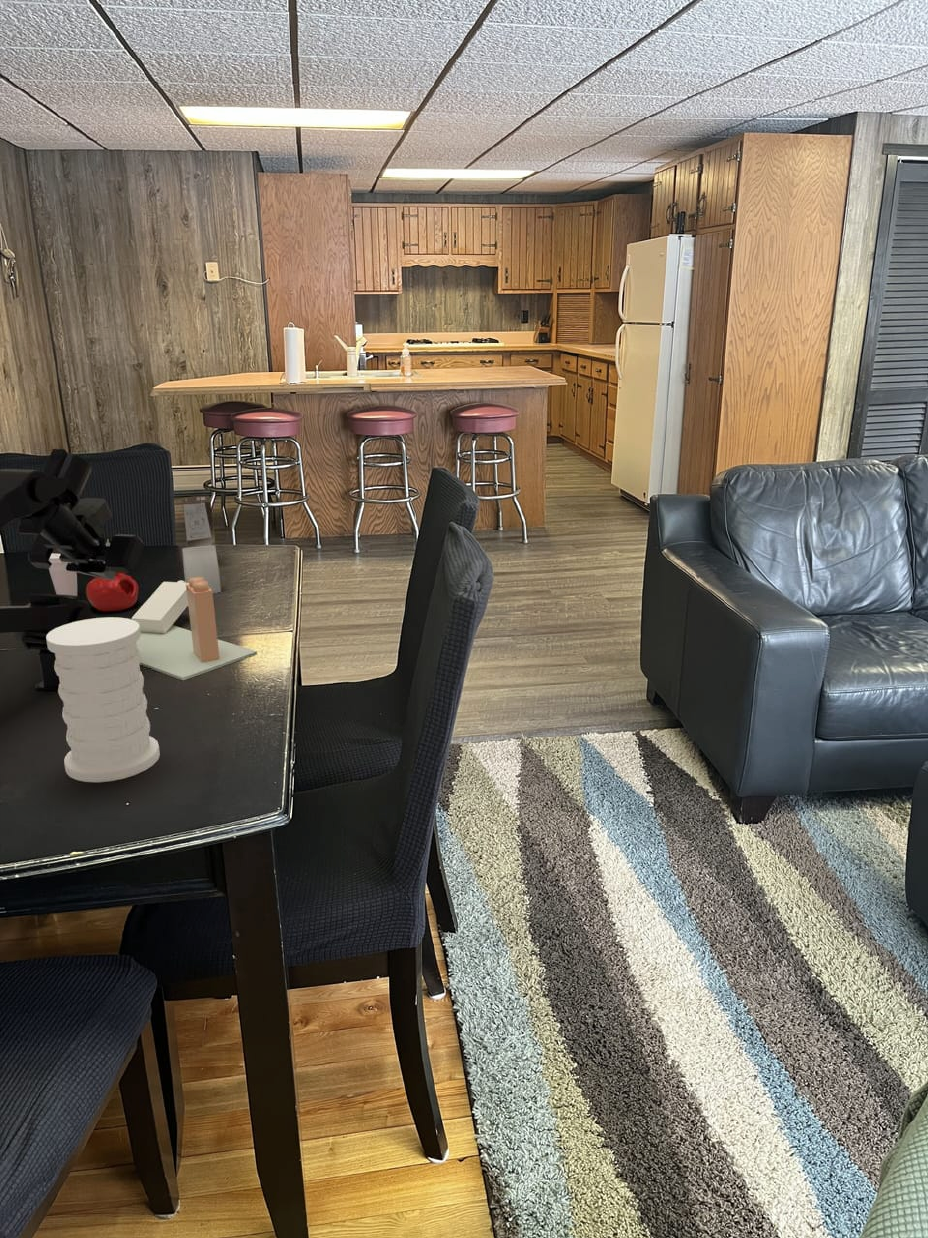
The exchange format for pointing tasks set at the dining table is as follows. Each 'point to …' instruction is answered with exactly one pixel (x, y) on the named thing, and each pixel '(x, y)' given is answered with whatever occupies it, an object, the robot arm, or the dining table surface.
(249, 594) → the dining table surface
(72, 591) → the smoothie
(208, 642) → the orange rectangular block
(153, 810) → the dining table surface
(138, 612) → the tile one
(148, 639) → the mat
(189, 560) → the pale grey upright block
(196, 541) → the coffee box
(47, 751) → the dining table surface
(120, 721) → the decorative container
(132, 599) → the red tomato
